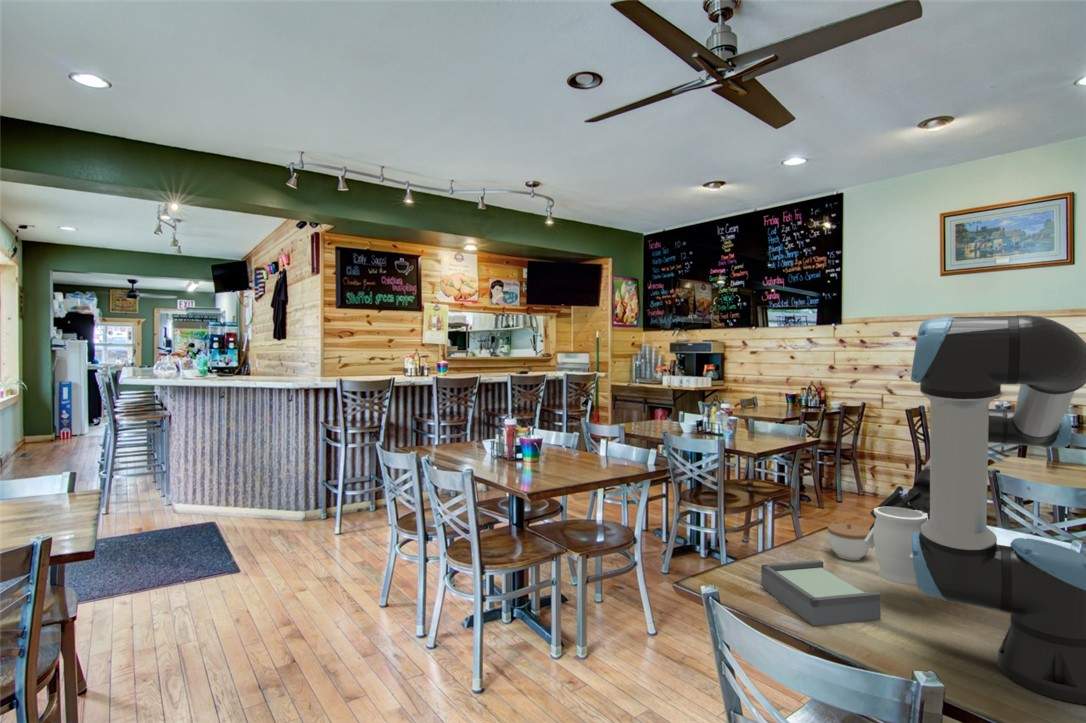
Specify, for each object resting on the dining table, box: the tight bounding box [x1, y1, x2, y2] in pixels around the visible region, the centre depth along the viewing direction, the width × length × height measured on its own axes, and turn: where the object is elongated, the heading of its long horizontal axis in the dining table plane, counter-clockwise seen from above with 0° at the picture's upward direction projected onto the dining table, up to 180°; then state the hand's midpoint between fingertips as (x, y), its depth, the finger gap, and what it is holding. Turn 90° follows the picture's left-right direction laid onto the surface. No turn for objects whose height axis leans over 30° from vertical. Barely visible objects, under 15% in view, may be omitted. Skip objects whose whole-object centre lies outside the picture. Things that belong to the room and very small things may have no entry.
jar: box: [873, 506, 928, 585], centre depth 130 cm, size 11×10×15 cm
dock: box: [760, 559, 882, 627], centre depth 132 cm, size 20×16×6 cm
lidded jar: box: [827, 522, 870, 561], centre depth 160 cm, size 11×11×9 cm
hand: (890, 552), depth 129 cm, fingers closed on jar, 10 cm apart
